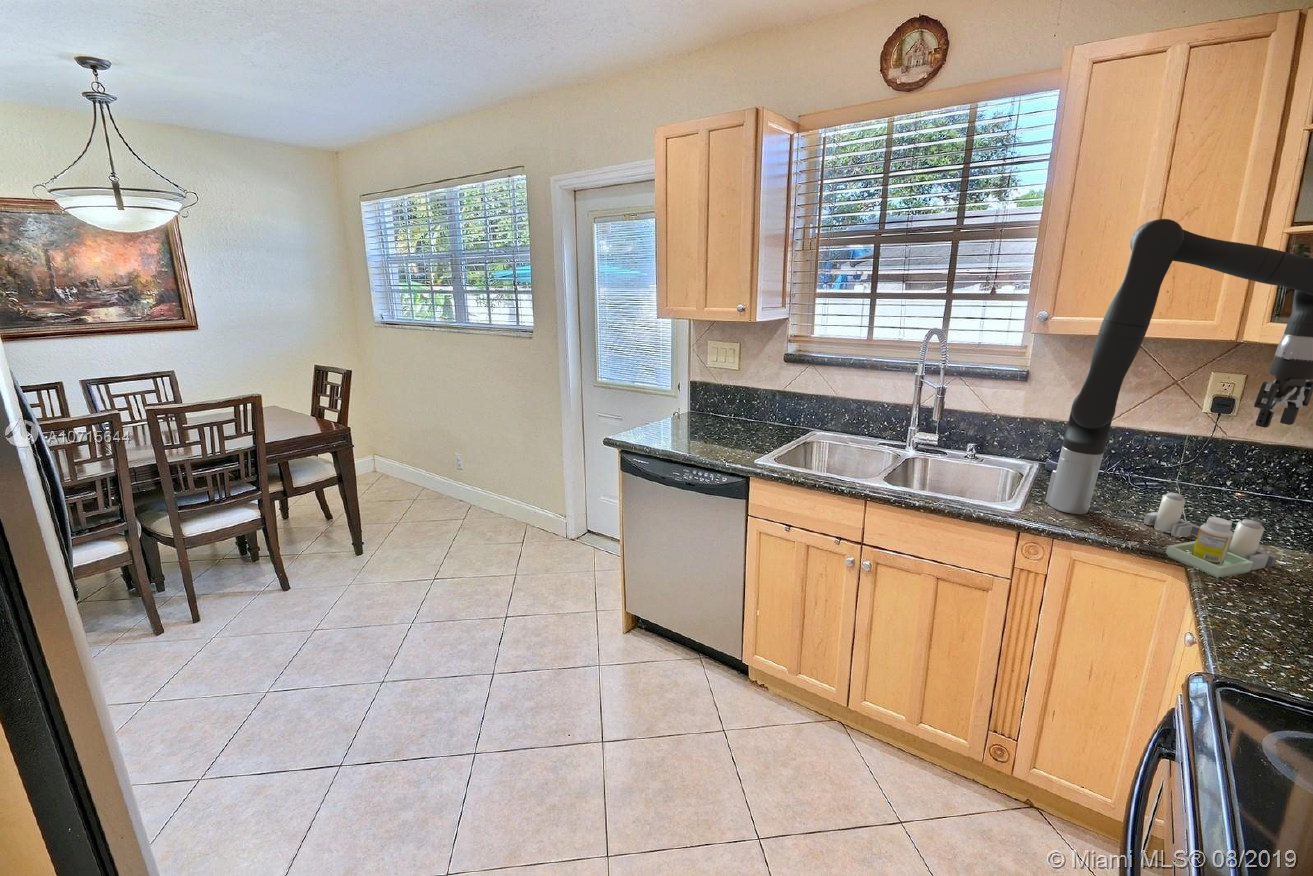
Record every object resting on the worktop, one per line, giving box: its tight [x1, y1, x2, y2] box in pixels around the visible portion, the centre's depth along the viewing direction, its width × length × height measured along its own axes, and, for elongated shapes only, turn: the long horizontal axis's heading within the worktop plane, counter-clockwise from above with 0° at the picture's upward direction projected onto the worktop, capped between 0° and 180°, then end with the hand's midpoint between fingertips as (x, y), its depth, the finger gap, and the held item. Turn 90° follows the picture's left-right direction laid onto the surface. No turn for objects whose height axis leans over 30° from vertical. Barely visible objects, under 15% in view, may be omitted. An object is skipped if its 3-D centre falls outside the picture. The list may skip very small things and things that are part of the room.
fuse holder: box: [1143, 511, 1279, 571], centre depth 143 cm, size 24×7×3 cm, turn 17°
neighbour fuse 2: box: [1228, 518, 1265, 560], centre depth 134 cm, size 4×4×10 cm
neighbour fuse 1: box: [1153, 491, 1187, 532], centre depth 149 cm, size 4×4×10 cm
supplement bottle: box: [1192, 516, 1234, 566], centre depth 133 cm, size 6×6×10 cm
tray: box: [1165, 540, 1253, 579], centre depth 134 cm, size 11×11×2 cm
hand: (1273, 425), depth 136 cm, fingers open, 8 cm apart
